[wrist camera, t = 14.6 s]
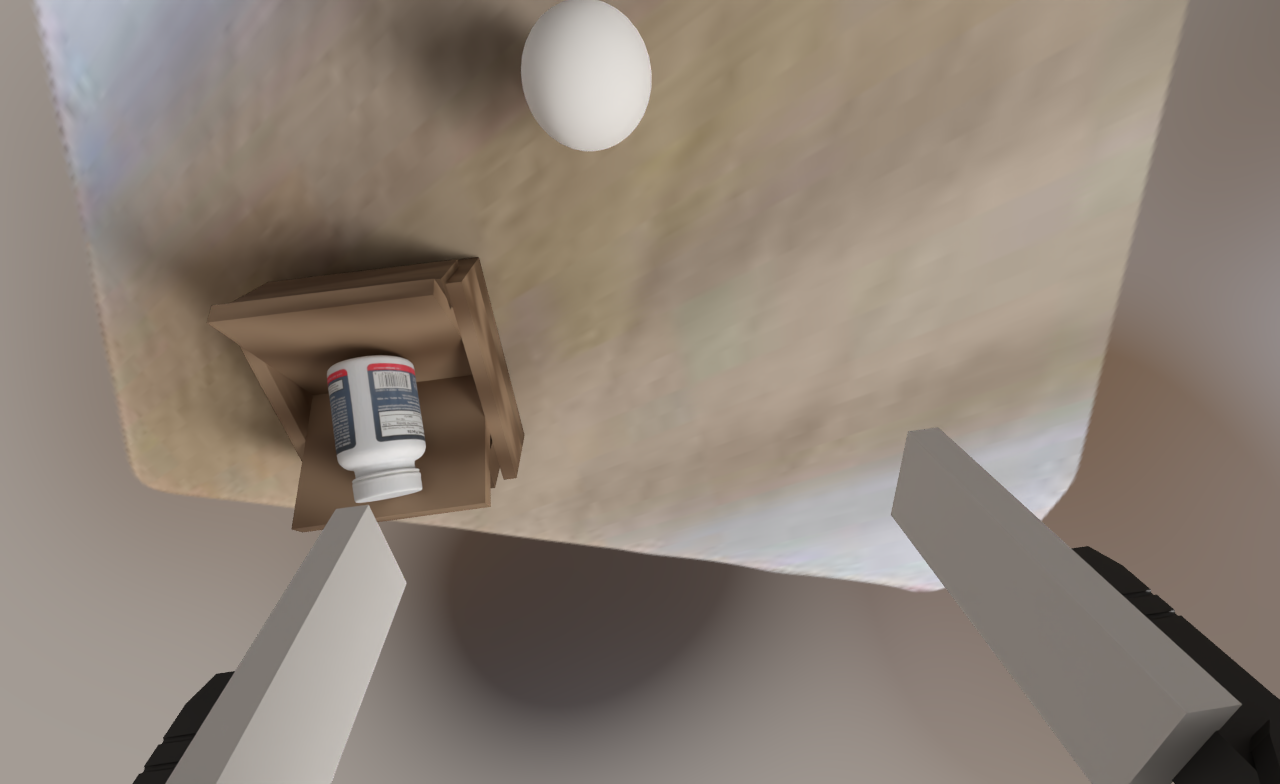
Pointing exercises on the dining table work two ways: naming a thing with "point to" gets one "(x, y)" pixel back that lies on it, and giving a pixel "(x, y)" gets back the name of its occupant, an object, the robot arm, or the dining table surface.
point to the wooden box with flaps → (394, 326)
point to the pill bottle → (377, 425)
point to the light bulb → (586, 74)
